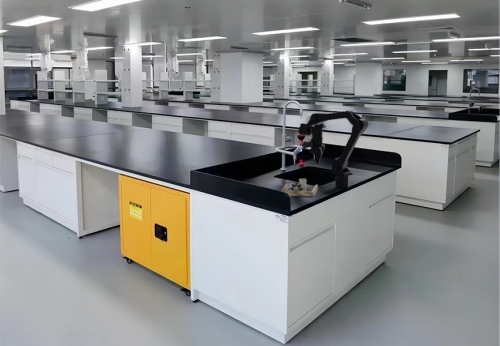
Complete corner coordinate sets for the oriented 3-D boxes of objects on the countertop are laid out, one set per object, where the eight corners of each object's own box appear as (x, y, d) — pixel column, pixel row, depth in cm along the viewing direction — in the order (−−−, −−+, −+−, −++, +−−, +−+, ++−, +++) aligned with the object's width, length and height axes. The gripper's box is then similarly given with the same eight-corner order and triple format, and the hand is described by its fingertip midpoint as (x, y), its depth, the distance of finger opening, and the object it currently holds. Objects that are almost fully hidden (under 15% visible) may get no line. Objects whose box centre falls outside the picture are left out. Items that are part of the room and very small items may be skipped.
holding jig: (317, 189, 230) (317, 184, 230) (313, 196, 215) (313, 191, 215) (286, 188, 235) (286, 184, 235) (280, 195, 220) (280, 190, 219)
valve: (298, 189, 231) (290, 194, 221) (298, 177, 230) (289, 182, 220) (310, 190, 228) (302, 195, 218) (310, 178, 227) (302, 183, 217)
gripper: (305, 134, 248) (305, 161, 250) (299, 137, 230) (300, 166, 233) (324, 134, 244) (324, 161, 247) (320, 137, 227) (321, 166, 230)
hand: (317, 163), depth 239 cm, fingers closed
